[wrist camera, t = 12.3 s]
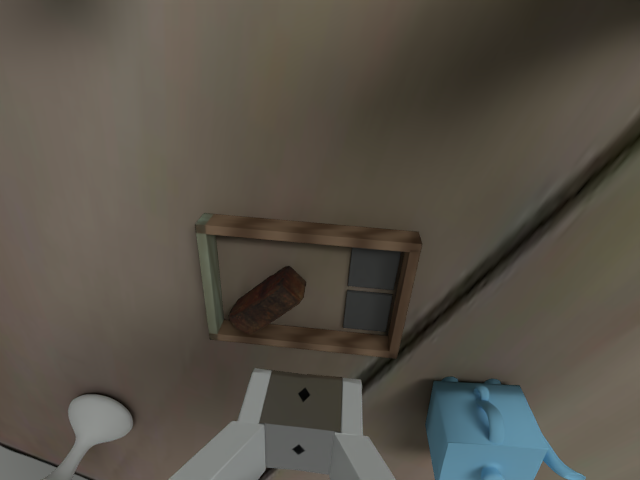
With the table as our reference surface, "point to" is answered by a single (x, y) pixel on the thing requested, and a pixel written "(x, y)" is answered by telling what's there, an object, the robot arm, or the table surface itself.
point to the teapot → (486, 433)
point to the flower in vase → (92, 429)
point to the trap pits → (371, 273)
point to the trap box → (311, 234)
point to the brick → (268, 301)
